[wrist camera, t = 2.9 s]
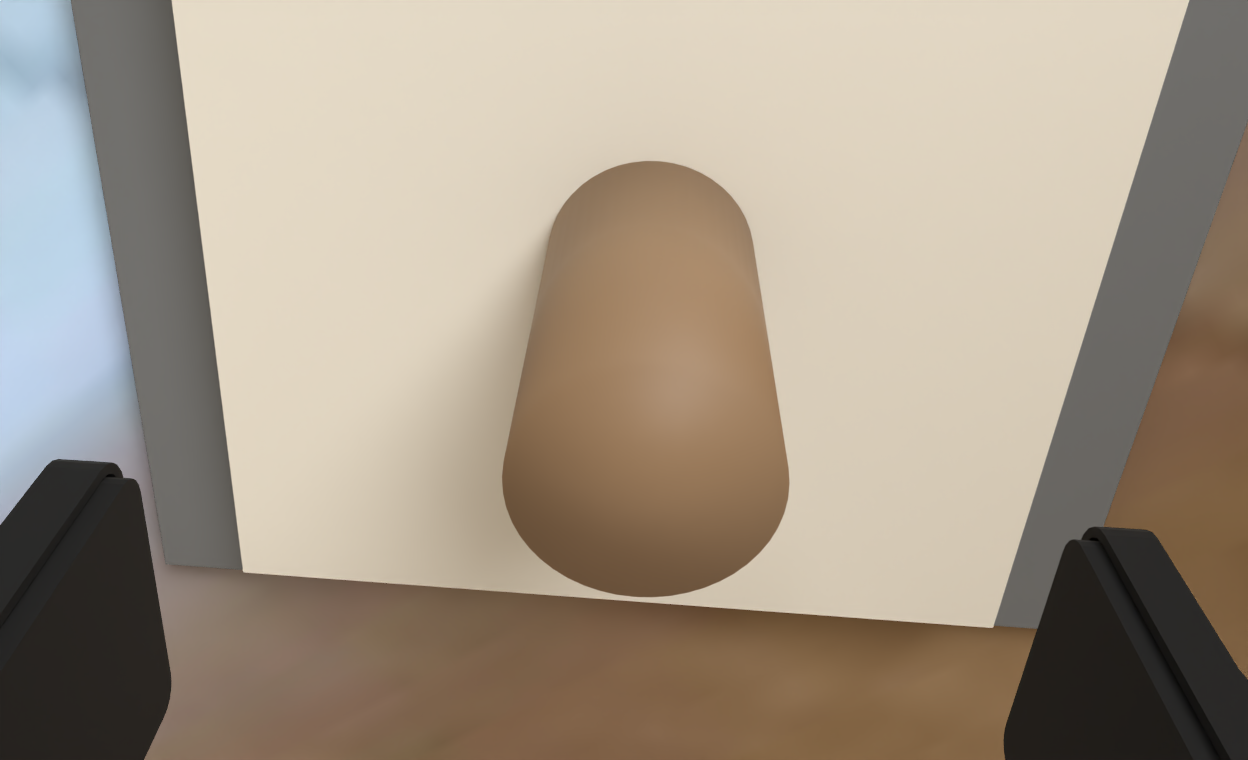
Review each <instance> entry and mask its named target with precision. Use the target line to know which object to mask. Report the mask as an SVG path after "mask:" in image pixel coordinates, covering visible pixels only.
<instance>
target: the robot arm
mask: <svg viewBox="0 0 1248 760" xmlns="http://www.w3.org/2000/svg"><path fill="white" fill-rule="evenodd" d="M170 693H171V672H170V666H169V660H168V654H167V648H166V642H165V636H164V630H163V624H162V618H161V612H160V606H159V600H158V594H157V588H156V582H155V576H154V570H153V563H152V557H151V551H150V545H149V539H148V533H147V527H146V521H145V515H144V509H143V503H142V497H141V491H140V488H139V484H138V483H137V481H136V480H134V479H131V478H123V475H122V471H121V470H120V468H119V467H118V465H116V464H114V463H109V462H94V461H78V460H63V459H57V460H54V461H52V462H50V463H49V464H48V465H47V466H46V467H45V469H44V470H43V471H42V472H41V474H40V475H39V476H38V478H37V479H36V480H35V481H34V483H33V484H32V485H31V487H30V488H29V489H28V490H27V492H26V493H25V494H24V496H23V497H22V498H21V499H20V501H19V502H18V503H17V505H16V506H15V507H14V508H13V510H12V511H11V512H10V514H9V515H8V516H7V517H6V519H5V520H4V521H3V523H2V524H1V525H0V760H144V758H145V756H146V754H147V752H148V750H149V748H150V746H151V743H152V741H153V739H154V737H155V735H156V733H157V731H158V728H159V726H160V724H161V722H162V720H163V718H164V716H165V713H166V710H167V707H168V704H169V700H170ZM1004 753H1005V760H1248V680H1247V678H1246V677H1245V676H1244V675H1243V674H1242V672H1241V671H1240V670H1239V669H1238V667H1237V665H1236V664H1235V662H1234V660H1233V659H1232V657H1231V656H1230V654H1229V652H1228V651H1227V649H1226V648H1225V646H1224V644H1223V643H1222V641H1221V640H1220V638H1219V636H1218V635H1217V633H1216V632H1215V630H1214V628H1213V627H1212V625H1211V624H1210V622H1209V620H1208V619H1207V617H1206V615H1205V614H1204V612H1203V611H1202V609H1201V607H1200V606H1199V604H1198V603H1197V601H1196V599H1195V598H1194V596H1193V595H1192V593H1191V591H1190V590H1189V588H1188V587H1187V585H1186V583H1185V582H1184V580H1183V578H1182V577H1181V575H1180V574H1179V572H1178V570H1177V569H1176V567H1175V566H1174V564H1173V562H1172V561H1171V559H1170V558H1169V556H1168V554H1167V553H1166V551H1165V550H1164V548H1163V546H1162V545H1161V543H1160V542H1159V540H1158V538H1157V537H1156V536H1155V535H1154V534H1153V533H1152V532H1150V531H1148V530H1141V529H1126V528H1110V527H1095V526H1094V527H1091V528H1088V530H1087V531H1086V532H1085V533H1084V534H1083V536H1082V538H1081V540H1076V539H1073V540H1070V541H1069V542H1068V543H1067V544H1066V545H1065V548H1064V550H1063V552H1062V555H1061V558H1060V561H1059V565H1058V568H1057V571H1056V574H1055V577H1054V580H1053V583H1052V586H1051V589H1050V592H1049V595H1048V598H1047V601H1046V604H1045V607H1044V610H1043V613H1042V616H1041V620H1040V623H1039V626H1038V629H1037V632H1036V635H1035V638H1034V641H1033V644H1032V647H1031V650H1030V653H1029V656H1028V659H1027V662H1026V665H1025V668H1024V671H1023V675H1022V678H1021V681H1020V684H1019V687H1018V690H1017V693H1016V696H1015V699H1014V702H1013V705H1012V708H1011V711H1010V714H1009V717H1008V720H1007V723H1006V727H1005V732H1004Z"/></svg>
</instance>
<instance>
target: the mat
mask: <svg viewBox="0 0 1248 760" xmlns="http://www.w3.org/2000/svg"><path fill="white" fill-rule="evenodd" d="M71 4H72V10H73V16H74V22H75V28H76V34H77V40H78V46H79V52H80V58H81V64H82V69H83V75H84V81H85V87H86V93H87V99H88V105H89V111H90V117H91V123H92V129H93V135H94V141H95V147H96V153H97V158H98V164H99V170H100V176H101V182H102V188H103V194H104V200H105V206H106V212H107V218H108V224H109V230H110V236H111V242H112V247H113V253H114V259H115V265H116V271H117V277H118V283H119V289H120V295H121V301H122V307H123V313H124V319H125V325H126V331H127V337H128V342H129V348H130V354H131V360H132V366H133V372H134V378H135V384H136V390H137V396H138V402H139V408H140V414H141V420H142V426H143V431H144V437H145V443H146V449H147V455H148V461H149V467H150V473H151V479H152V485H153V491H154V497H155V503H156V509H157V515H158V520H159V526H160V532H161V538H162V544H163V550H164V556H165V562H166V564H171V565H184V566H198V567H211V568H225V569H238V570H243V567H242V559H241V551H240V543H239V535H238V527H237V519H236V511H235V503H234V495H233V487H232V479H231V471H230V463H229V455H228V447H227V439H226V431H225V423H224V415H223V407H222V399H221V391H220V383H219V375H218V367H217V359H216V351H215V343H214V335H213V327H212V319H211V311H210V303H209V295H208V287H207V279H206V271H205V263H204V255H203V247H202V239H201V231H200V223H199V215H198V207H197V199H196V191H195V183H194V175H193V167H192V159H191V151H190V143H189V135H188V127H187V119H186V111H185V103H184V95H183V87H182V79H181V71H180V63H179V55H178V47H177V39H176V31H175V23H174V15H173V7H172V0H71ZM1247 122H1248V0H1189V3H1188V6H1187V9H1186V13H1185V16H1184V19H1183V22H1182V25H1181V29H1180V32H1179V35H1178V38H1177V41H1176V45H1175V48H1174V51H1173V54H1172V57H1171V61H1170V64H1169V67H1168V70H1167V73H1166V77H1165V80H1164V83H1163V86H1162V89H1161V92H1160V96H1159V99H1158V102H1157V105H1156V108H1155V112H1154V115H1153V118H1152V121H1151V124H1150V128H1149V131H1148V134H1147V137H1146V140H1145V144H1144V147H1143V150H1142V153H1141V156H1140V160H1139V163H1138V166H1137V169H1136V172H1135V176H1134V179H1133V182H1132V185H1131V188H1130V192H1129V195H1128V198H1127V201H1126V204H1125V208H1124V211H1123V214H1122V217H1121V220H1120V223H1119V227H1118V230H1117V233H1116V236H1115V239H1114V243H1113V246H1112V249H1111V252H1110V255H1109V259H1108V262H1107V265H1106V268H1105V271H1104V275H1103V278H1102V281H1101V284H1100V287H1099V291H1098V294H1097V297H1096V300H1095V303H1094V307H1093V310H1092V313H1091V316H1090V319H1089V323H1088V326H1087V329H1086V332H1085V335H1084V339H1083V342H1082V345H1081V348H1080V351H1079V355H1078V358H1077V361H1076V364H1075V367H1074V370H1073V374H1072V377H1071V380H1070V383H1069V386H1068V390H1067V393H1066V396H1065V399H1064V402H1063V406H1062V409H1061V412H1060V415H1059V418H1058V422H1057V425H1056V428H1055V431H1054V434H1053V438H1052V441H1051V444H1050V447H1049V450H1048V454H1047V457H1046V460H1045V463H1044V466H1043V470H1042V473H1041V476H1040V479H1039V482H1038V486H1037V489H1036V492H1035V495H1034V498H1033V502H1032V505H1031V508H1030V511H1029V514H1028V517H1027V521H1026V524H1025V527H1024V530H1023V533H1022V537H1021V540H1020V543H1019V546H1018V549H1017V553H1016V556H1015V559H1014V562H1013V565H1012V569H1011V572H1010V575H1009V578H1008V581H1007V585H1006V588H1005V591H1004V594H1003V597H1002V601H1001V604H1000V607H999V610H998V613H997V617H996V620H995V623H994V626H1007V627H1020V628H1034V629H1038V626H1039V623H1040V620H1041V616H1042V613H1043V610H1044V607H1045V604H1046V601H1047V598H1048V595H1049V592H1050V589H1051V586H1052V583H1053V580H1054V577H1055V574H1056V571H1057V568H1058V565H1059V561H1060V558H1061V555H1062V552H1063V550H1064V548H1065V545H1066V544H1067V543H1068V542H1069V541H1070V540H1073V539H1076V540H1081V538H1082V536H1083V534H1084V533H1085V532H1086V531H1087V530H1088V528H1091V527H1094V526H1095V527H1103V526H1104V523H1105V520H1106V517H1107V515H1108V512H1109V509H1110V506H1111V503H1112V501H1113V498H1114V495H1115V492H1116V489H1117V487H1118V484H1119V481H1120V478H1121V475H1122V473H1123V470H1124V467H1125V464H1126V461H1127V459H1128V456H1129V453H1130V450H1131V447H1132V445H1133V442H1134V439H1135V436H1136V433H1137V431H1138V428H1139V425H1140V422H1141V419H1142V417H1143V414H1144V411H1145V408H1146V405H1147V403H1148V400H1149V397H1150V394H1151V391H1152V389H1153V386H1154V383H1155V380H1156V377H1157V375H1158V372H1159V369H1160V366H1161V363H1162V360H1163V358H1164V355H1165V352H1166V349H1167V346H1168V344H1169V341H1170V338H1171V335H1172V332H1173V330H1174V327H1175V324H1176V321H1177V318H1178V316H1179V313H1180V310H1181V307H1182V304H1183V302H1184V299H1185V296H1186V293H1187V290H1188V288H1189V285H1190V282H1191V279H1192V276H1193V274H1194V271H1195V268H1196V265H1197V262H1198V260H1199V257H1200V254H1201V251H1202V248H1203V246H1204V243H1205V240H1206V237H1207V234H1208V232H1209V229H1210V226H1211V223H1212V220H1213V218H1214V215H1215V212H1216V209H1217V206H1218V203H1219V201H1220V198H1221V195H1222V192H1223V189H1224V187H1225V184H1226V181H1227V178H1228V175H1229V173H1230V170H1231V167H1232V164H1233V161H1234V159H1235V156H1236V153H1237V150H1238V147H1239V145H1240V142H1241V139H1242V136H1243V133H1244V131H1245V128H1246V125H1247Z"/></svg>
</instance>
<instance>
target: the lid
mask: <svg viewBox="0 0 1248 760" xmlns="http://www.w3.org/2000/svg"><path fill="white" fill-rule="evenodd" d="M1188 3H1189V0H172V7H173V15H174V23H175V31H176V39H177V47H178V55H179V63H180V71H181V79H182V87H183V95H184V103H185V111H186V119H187V127H188V135H189V143H190V151H191V159H192V167H193V175H194V183H195V191H196V199H197V207H198V215H199V223H200V231H201V239H202V247H203V255H204V263H205V271H206V279H207V287H208V295H209V303H210V311H211V319H212V327H213V335H214V343H215V351H216V359H217V367H218V375H219V383H220V391H221V399H222V407H223V415H224V423H225V431H226V439H227V447H228V455H229V463H230V471H231V479H232V487H233V495H234V503H235V511H236V519H237V527H238V535H239V543H240V551H241V559H242V567H243V572H244V573H258V574H271V575H285V576H298V577H312V578H325V579H339V580H352V581H366V582H379V583H393V584H406V585H420V586H433V587H447V588H460V589H474V590H487V591H501V592H514V593H528V594H541V595H555V596H568V597H582V598H595V599H609V600H622V601H636V602H649V603H663V604H676V605H690V606H703V607H717V608H730V609H743V610H757V611H770V612H784V613H797V614H811V615H824V616H838V617H851V618H865V619H878V620H892V621H905V622H919V623H932V624H946V625H959V626H973V627H986V628H993V626H994V623H995V620H996V617H997V613H998V610H999V607H1000V604H1001V601H1002V597H1003V594H1004V591H1005V588H1006V585H1007V581H1008V578H1009V575H1010V572H1011V569H1012V565H1013V562H1014V559H1015V556H1016V553H1017V549H1018V546H1019V543H1020V540H1021V537H1022V533H1023V530H1024V527H1025V524H1026V521H1027V517H1028V514H1029V511H1030V508H1031V505H1032V502H1033V498H1034V495H1035V492H1036V489H1037V486H1038V482H1039V479H1040V476H1041V473H1042V470H1043V466H1044V463H1045V460H1046V457H1047V454H1048V450H1049V447H1050V444H1051V441H1052V438H1053V434H1054V431H1055V428H1056V425H1057V422H1058V418H1059V415H1060V412H1061V409H1062V406H1063V402H1064V399H1065V396H1066V393H1067V390H1068V386H1069V383H1070V380H1071V377H1072V374H1073V370H1074V367H1075V364H1076V361H1077V358H1078V355H1079V351H1080V348H1081V345H1082V342H1083V339H1084V335H1085V332H1086V329H1087V326H1088V323H1089V319H1090V316H1091V313H1092V310H1093V307H1094V303H1095V300H1096V297H1097V294H1098V291H1099V287H1100V284H1101V281H1102V278H1103V275H1104V271H1105V268H1106V265H1107V262H1108V259H1109V255H1110V252H1111V249H1112V246H1113V243H1114V239H1115V236H1116V233H1117V230H1118V227H1119V223H1120V220H1121V217H1122V214H1123V211H1124V208H1125V204H1126V201H1127V198H1128V195H1129V192H1130V188H1131V185H1132V182H1133V179H1134V176H1135V172H1136V169H1137V166H1138V163H1139V160H1140V156H1141V153H1142V150H1143V147H1144V144H1145V140H1146V137H1147V134H1148V131H1149V128H1150V124H1151V121H1152V118H1153V115H1154V112H1155V108H1156V105H1157V102H1158V99H1159V96H1160V92H1161V89H1162V86H1163V83H1164V80H1165V77H1166V73H1167V70H1168V67H1169V64H1170V61H1171V57H1172V54H1173V51H1174V48H1175V45H1176V41H1177V38H1178V35H1179V32H1180V29H1181V25H1182V22H1183V19H1184V16H1185V13H1186V9H1187V6H1188Z"/></svg>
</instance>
